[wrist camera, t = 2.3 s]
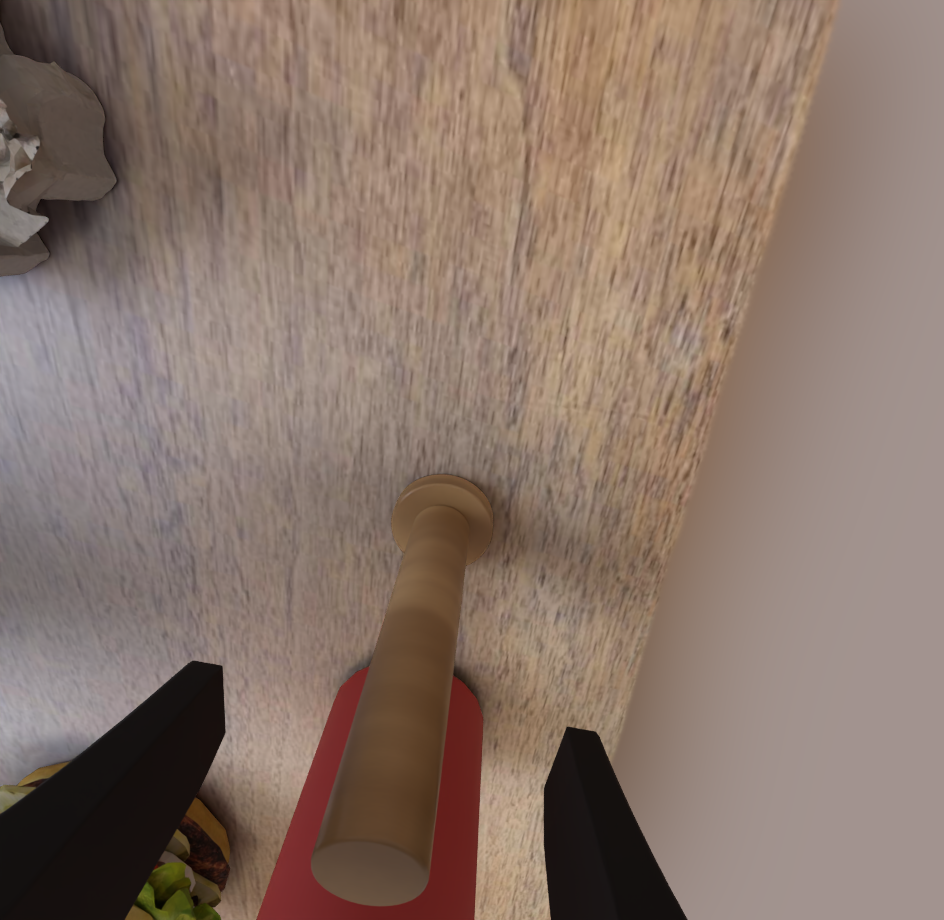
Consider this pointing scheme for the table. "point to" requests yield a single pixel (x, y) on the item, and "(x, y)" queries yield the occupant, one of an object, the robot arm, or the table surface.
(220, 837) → the food
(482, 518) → the wooden pestle
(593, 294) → the table surface
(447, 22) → the table surface
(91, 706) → the table surface
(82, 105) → the egg carton
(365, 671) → the beer can
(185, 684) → the robot arm
